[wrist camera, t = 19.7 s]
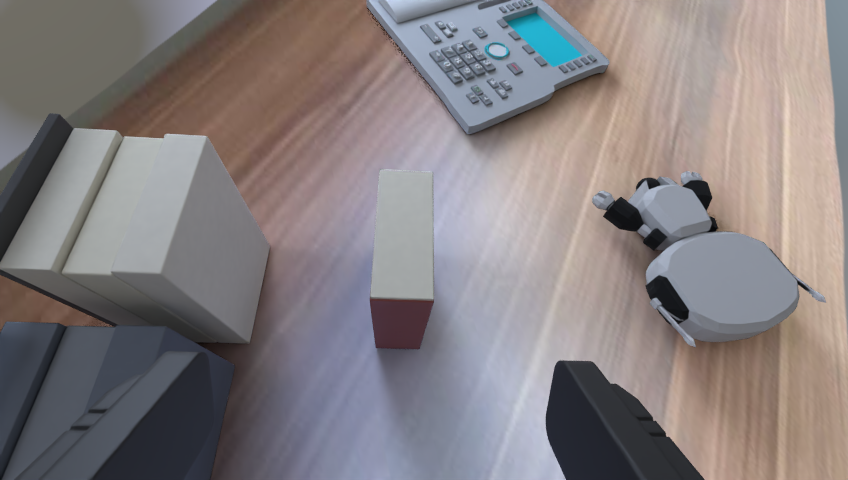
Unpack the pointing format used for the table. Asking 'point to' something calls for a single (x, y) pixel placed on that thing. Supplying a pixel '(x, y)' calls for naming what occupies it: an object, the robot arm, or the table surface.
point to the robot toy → (703, 263)
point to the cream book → (402, 259)
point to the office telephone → (489, 53)
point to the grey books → (82, 382)
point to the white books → (134, 231)
